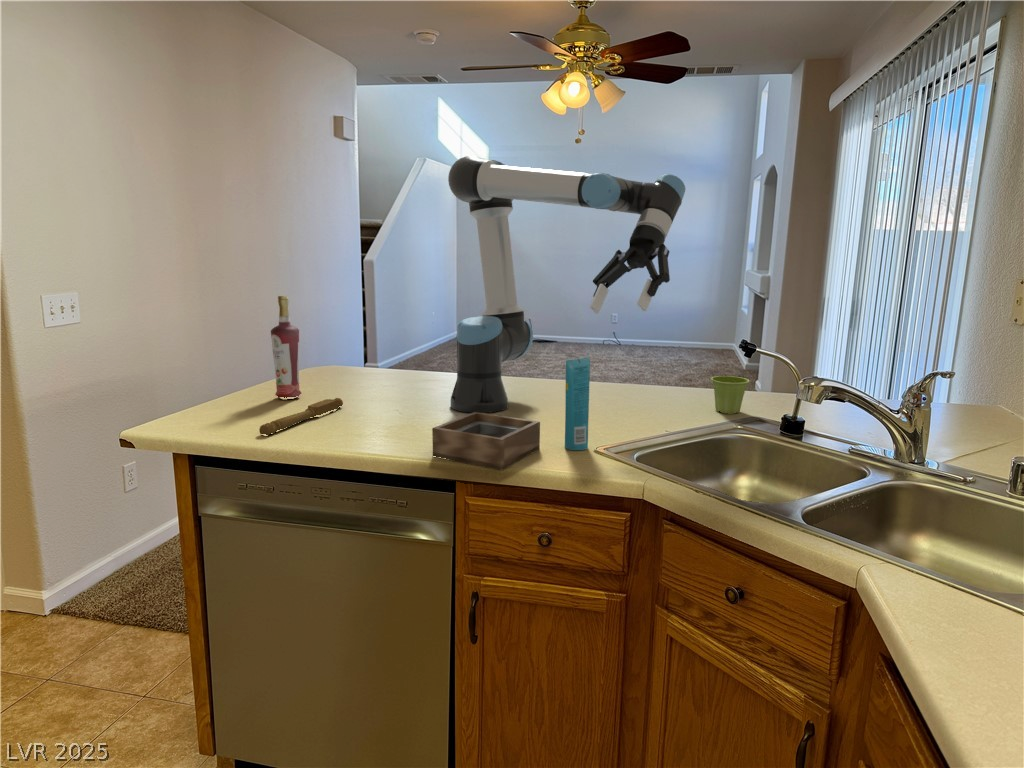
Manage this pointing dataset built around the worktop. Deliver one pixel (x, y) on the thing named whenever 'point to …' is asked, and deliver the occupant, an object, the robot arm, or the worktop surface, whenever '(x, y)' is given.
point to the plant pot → (729, 393)
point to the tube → (577, 403)
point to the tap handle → (301, 415)
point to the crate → (486, 440)
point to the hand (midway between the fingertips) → (616, 309)
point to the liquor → (286, 353)
